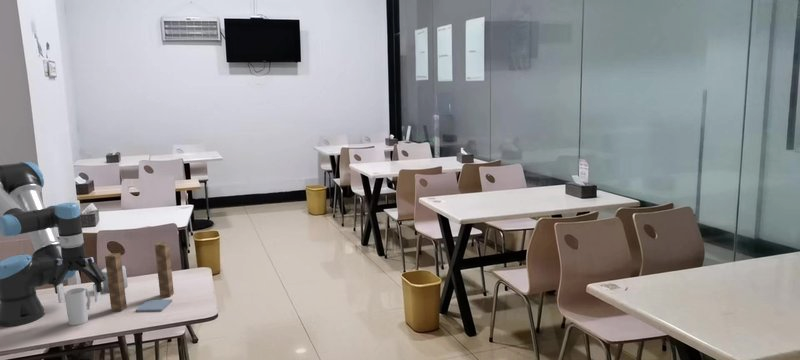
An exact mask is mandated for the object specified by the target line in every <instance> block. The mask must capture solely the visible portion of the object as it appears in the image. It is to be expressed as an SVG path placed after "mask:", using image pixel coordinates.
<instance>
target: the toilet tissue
mask: <svg viewBox="0 0 800 360" xmlns="http://www.w3.org/2000/svg"><path fill="white" fill-rule="evenodd" d="M100 270H101V271H102V273H103V274H104V276H105V278H106V280H105V281H103V282H102V286H103V291H104V292H106V293H109V286H108V278H107V270H106V267H104V268H103V269H100ZM122 271H123V279H124V288H125V289H127V288H128V287H129V286H128V277H127V269H126V266H125V265H122Z"/></svg>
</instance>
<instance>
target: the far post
mask: <svg viewBox="0 0 800 360" xmlns="http://www.w3.org/2000/svg"><path fill="white" fill-rule="evenodd" d="M154 251H155V252H154V253H155V260H156V271H157V278H158V279H157V280H158V286H159V287H158V288H159V298H170V297H172V296H173V295H174V294H175V290H174V281H173V271H172V261H171V252H170V243H169V242H166V241H165V242H163V241H162V242H160V241H159V242H158V243H156V244H155V245H154Z"/></svg>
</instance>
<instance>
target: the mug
mask: <svg viewBox="0 0 800 360" xmlns="http://www.w3.org/2000/svg"><path fill="white" fill-rule="evenodd" d="M64 296H65V301H64V303H65V307H66V312H67V313H66V314H67V320H68V325H70V326H80V325H83V324H86V323H87V322H88V321H89V315H88V311H89V310H90V307H91V293H89V291H88V289H87V288H83V287H74V288H70V289H67V290H66V291H65V290H64Z"/></svg>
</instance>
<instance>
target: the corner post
mask: <svg viewBox="0 0 800 360" xmlns="http://www.w3.org/2000/svg"><path fill="white" fill-rule="evenodd" d="M104 260H105V262H104V263H105V268H106V270H107V278H108V286H109V292H108V293H109V295H108V296H109V300H110V309H111V312H123V311H124V310H125V309H126V308H127V306H128V305H127V297H126V290H125V289H126V288H124V279H123V271H122V266H123V264H122V255H121V253H120V252H116V253H115V252H114V253H111V252H110V253H108V254H106V255H105V256H104Z"/></svg>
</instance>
